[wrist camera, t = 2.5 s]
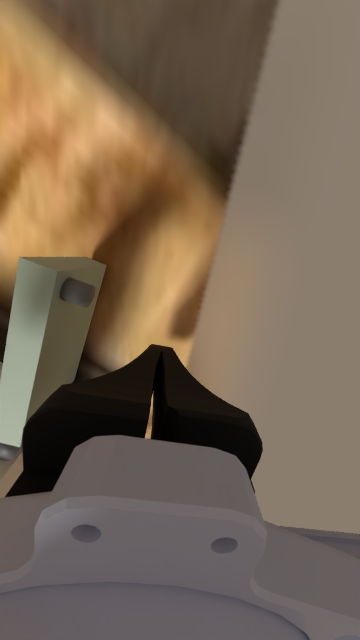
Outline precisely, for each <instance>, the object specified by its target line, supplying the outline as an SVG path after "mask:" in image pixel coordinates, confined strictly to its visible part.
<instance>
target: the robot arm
mask: <svg viewBox="0 0 360 640" xmlns="http://www.w3.org/2000/svg"><path fill="white" fill-rule="evenodd" d="M153 391H154V392H153ZM152 394H153V415H152V431H151V439H145V434H146V429H147V424H148V419H149V413H150V407H151V398H152ZM262 451H263V448H262V441H261V439H260V436H259V434H258V432H257V430H256V427H255V425H254V423H253V421H252V419H251V418H250V416H249V414H248V413H246V412H244V411H242V410H240V409H239V408H237V407H235V406H233V405H231V404H229V403H227V402H225V401H224V400H222V399H221V398H219V397H217V396H216V395H214V394H213V393H212V392H210V391H209V390H208V389H206V388H205V387H204V386H203V385H201V384H200V383H199V382H198V381H197V380H196V379H195V378H194V377H193V376H192V375H191V374H190V373H189V372H188V370H187V369H186V368H185V367H184V365H183V364H182V363H181V361H180V360H179V358H178V356H177V355H176V353H175V351H174V350H173V348H171V347H165V346H160V345H154V344H151V345H150V346H149V347H148V348H147V349H146V350H145V351H144V352H143V353H142V354H141V355H140V356H138V357H137V358H136V359H134V360H133V361H132V362H130V363H129V364H127V365H126V366H124V367H122V368H120V369H118V370H116V371H113V372H111V373H108V374H106V375H103V376H100V377H97V378H93V379H90V380H85V381H81V382H75V383H70V384H63V385H61V386H60V387H59V388H58V389H57V390H56V391H55V392H53V393H52V394H51V395H50V396H49V397H48V398H47V399H46V400H45V402H44V403H43V404H42V405H41V406H40V407H39V408H38V409H37V410H36V412H35V413H34V414H33V415H32V416H31V417H30V418H29V419H28V421H27V423H26V425H25V426H24V428H23V434H22V453H23V472H22V473H21V474H20V476H19V477H18V479H17V480H16V481H15V483H14V484H13V486H12V487H11V489H10V490H9V491H8V493H7V494H6V496H5V497H4V498H0V640H360V534H354V533H344V532H334V531H324V530H314V529H304V528H294V527H284V526H277V525H274V524H272V523H269V522H267V521H264V520H263V517H262V514H261V511H260V508H259V506H258V503H257V500H256V497H255V490H254V487H253V484H252V481H251V478H252V475H253V473H254V471H255V469H256V467H257V464H258V462H259V460H260V458H261V454H262Z"/></svg>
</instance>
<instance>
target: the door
mask: <svg viewBox="0 0 360 640" xmlns="http://www.w3.org/2000/svg"><path fill="white" fill-rule="evenodd" d="M106 266H107V265H105V264H103V263H100V262H98V261H95V260H93V259H90V258H88V257H19V262H18V269H17V275H16V282H15V288H14V295H13V302H12V308H11V315H10V321H9V328H8V334H7V341H6V347H5V354H4V360H3V367H2V373H1V380H0V460H3V461H10V460H13V459H14V458H15V457H16V455H17V454H18V453H19V452H20V450H21V449H22V434H23V428H24V426H25V425H26V423H27V421H28V419H29V418H30V417H31V416H32V415H33V414H34V413H35V412H36V410H37V409H38V408H39V407H40V406H41V405H42V404H43V403H44V402H45V400H46V399H47V398H48V397H49V396H50V395H51V394H52V393H53V392H55V391H56V390H57V389H58V388H59V387H60V386H61V385H63V384H70V383H72V382H73V381H74V379H75V376H76V372H77V369H78V365H79V362H80V358H81V355H82V351H83V348H84V344H85V341H86V337H87V333H88V330H89V326H90V323H91V319H92V316H93V312H94V309H95V305H96V302H97V298H98V295H99V291H100V288H101V284H102V280H103V277H104V273H105V270H106Z"/></svg>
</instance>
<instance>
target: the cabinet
mask: <svg viewBox="0 0 360 640" xmlns="http://www.w3.org/2000/svg"><path fill="white" fill-rule="evenodd" d="M2 367H3V363H2V362H0V380H1V373H2ZM22 472H23V453H22V449H21V450H20V452H19V453H18V454H17V455H16V457H15V458H14V459H13V460H10V461H3V460H0V498H4V497H5V496H6V494H7V493H8V491H9V490H10V489H11V487H12V486H13V484H14V483H15V481H16V480H17V479H18V477H19V476H20V474H21V473H22Z"/></svg>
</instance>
